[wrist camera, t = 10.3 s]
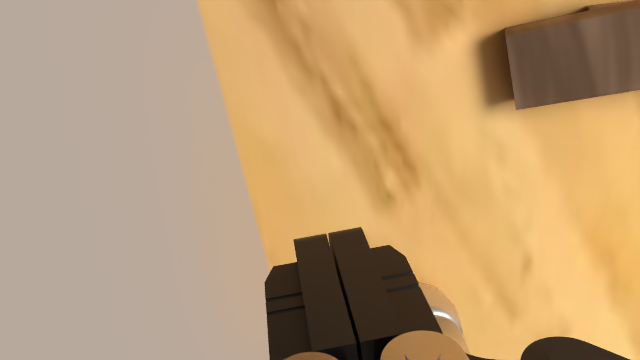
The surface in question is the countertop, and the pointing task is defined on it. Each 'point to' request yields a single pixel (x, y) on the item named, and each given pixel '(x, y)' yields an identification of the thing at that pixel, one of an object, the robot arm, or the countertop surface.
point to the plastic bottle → (445, 314)
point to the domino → (575, 56)
